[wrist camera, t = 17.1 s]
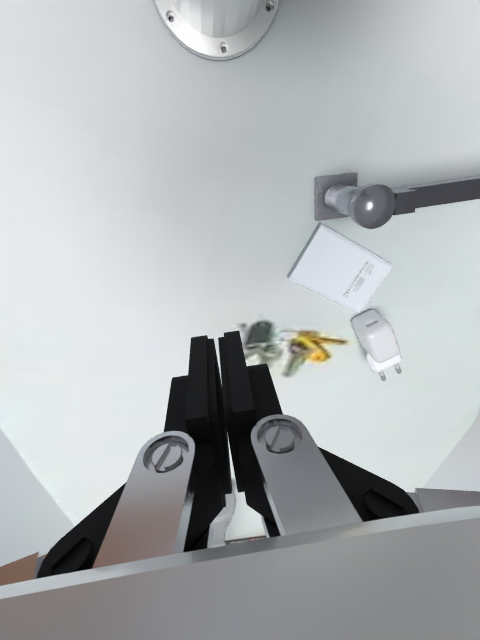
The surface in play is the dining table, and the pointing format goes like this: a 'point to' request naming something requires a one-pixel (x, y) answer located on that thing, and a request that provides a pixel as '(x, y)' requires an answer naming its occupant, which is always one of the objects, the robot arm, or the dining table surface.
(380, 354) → the power adapter
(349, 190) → the post
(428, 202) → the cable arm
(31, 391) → the dining table surface
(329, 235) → the external hard drive
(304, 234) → the dining table surface
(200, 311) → the dining table surface
